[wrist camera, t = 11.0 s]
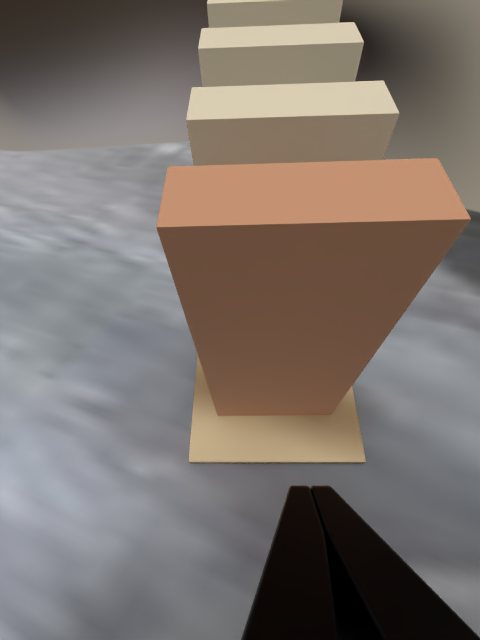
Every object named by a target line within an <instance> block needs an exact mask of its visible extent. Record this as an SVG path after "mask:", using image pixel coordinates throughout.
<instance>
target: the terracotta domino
mask: <svg viewBox="0 0 480 640" xmlns="http://www.w3.org/2000/svg"><path fill="white" fill-rule="evenodd" d="M470 220H471V218H470V217H469V215H468V213H467V211H466V209H465V207H464V206H463V204H462V202H461V200H460V198H459V197H458V195H457V193H456V191H455V189H454V187H453V185H452V184H451V182H450V180H449V178H448V176H447V174H446V173H445V171H444V169H443V167H442V165H441V163H440V161H439V160H438V158H430V159H429V158H428V159H395V160H363V161H331V162H299V163H267V164H235V165H203V166H171V167H168V170H167V175H166V180H165V185H164V190H163V196H162V201H161V206H160V211H159V216H158V221H157V227H156V228H157V231H158V234H159V237H160V240H161V243H162V246H163V249H164V252H165V255H166V258H167V261H168V264H169V268H170V271H171V274H172V277H173V280H174V283H175V286H176V289H177V292H178V295H179V298H180V301H181V304H182V308H183V311H184V314H185V317H186V320H187V323H188V326H189V329H190V332H191V335H192V338H193V341H194V344H195V348H196V351H197V354H198V357H199V360H200V363H201V366H202V369H203V372H204V375H205V378H206V381H207V384H208V388H209V391H210V394H211V397H212V400H213V403H214V406H215V409H216V412H217V415H218V416H269V415H331V414H332V413H333V411H334V410H335V409H336V407H337V406H338V404H339V403H340V402H341V400H342V399H343V397H344V396H345V395H346V393H347V392H348V390H349V389H350V388H351V386H352V385H353V383H354V382H355V381H356V379H357V378H358V376H359V375H360V374H361V372H362V371H363V369H364V368H365V367H366V365H367V364H368V362H369V361H370V360H371V358H372V357H373V355H374V354H375V353H376V351H377V350H378V348H379V347H380V346H381V344H382V343H383V341H384V340H385V339H386V337H387V336H388V334H389V333H390V332H391V330H392V329H393V327H394V326H395V325H396V323H397V322H398V320H399V319H400V318H401V316H402V315H403V313H404V312H405V311H406V309H407V308H408V306H409V305H410V304H411V302H412V301H413V299H414V298H415V297H416V295H417V294H418V292H419V291H420V290H421V288H422V287H423V285H424V284H425V283H426V281H427V280H428V278H429V277H430V276H431V274H432V273H433V271H434V270H435V269H436V267H437V266H438V264H439V263H440V262H441V260H442V259H443V257H444V256H445V255H446V253H447V252H448V250H449V249H450V248H451V246H452V245H453V243H454V242H455V241H456V239H457V238H458V236H459V235H460V234H461V232H462V231H463V229H464V228H465V227H466V225H467V224H468V222H469V221H470Z"/></svg>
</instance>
